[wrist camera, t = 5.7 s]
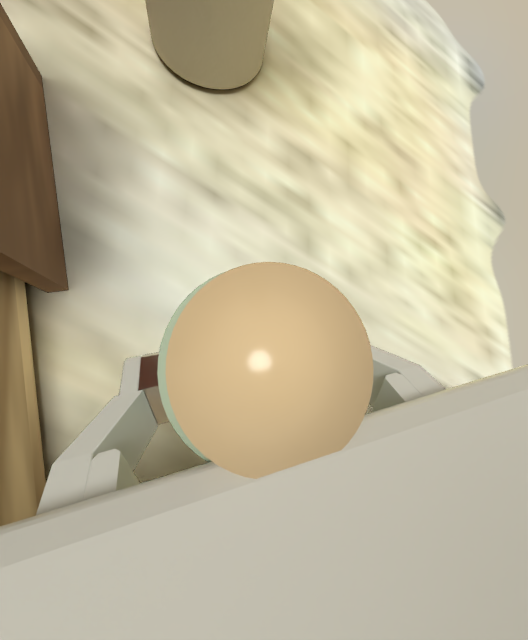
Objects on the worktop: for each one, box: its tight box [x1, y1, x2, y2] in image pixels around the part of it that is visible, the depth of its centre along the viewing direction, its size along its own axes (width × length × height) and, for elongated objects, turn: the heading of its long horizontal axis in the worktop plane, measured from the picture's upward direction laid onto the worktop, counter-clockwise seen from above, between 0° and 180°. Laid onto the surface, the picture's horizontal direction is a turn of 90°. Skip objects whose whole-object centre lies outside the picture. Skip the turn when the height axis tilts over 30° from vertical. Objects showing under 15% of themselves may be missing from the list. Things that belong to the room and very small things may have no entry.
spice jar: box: [157, 262, 373, 479], centre depth 10 cm, size 5×5×11 cm
